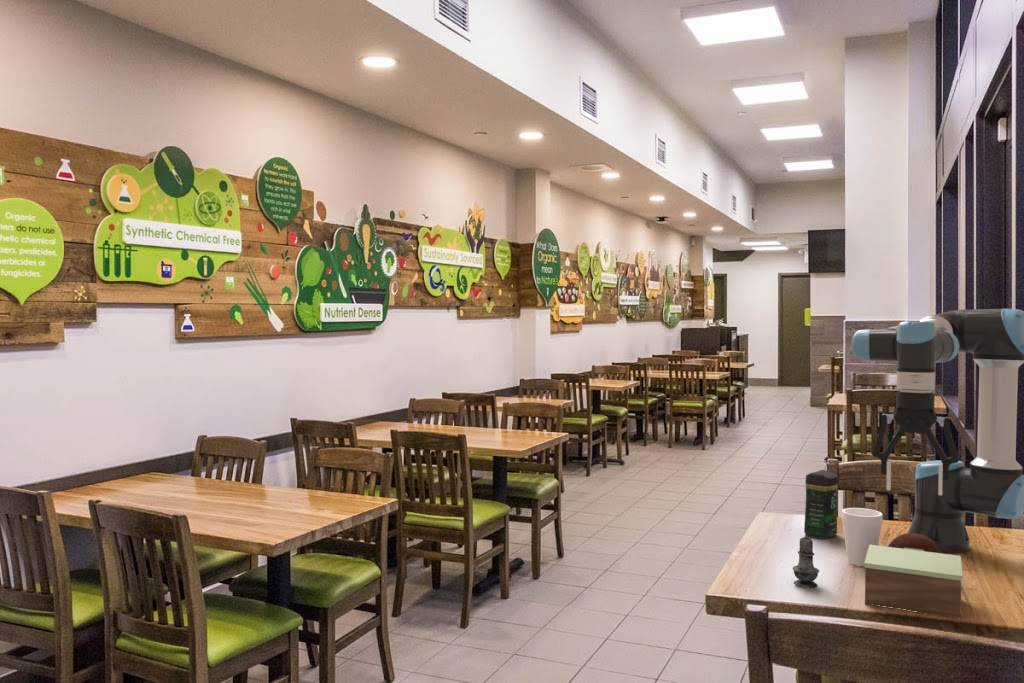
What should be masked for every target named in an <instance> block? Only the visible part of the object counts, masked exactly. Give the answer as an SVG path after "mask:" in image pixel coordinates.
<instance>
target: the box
mask: <svg viewBox="0 0 1024 683" xmlns="http://www.w3.org/2000/svg"><path fill="white" fill-rule="evenodd" d="M864 568H865V567H864ZM864 574H865V575H864V576H865V577H864V587H865V588H864V605H867V604H873V605H880V606H886V607H893V608H900V609H906V610H911V611H917V612H921V613H920V614H924V613H927V614H926V615H930V614H933V615H932V616H936V615H937V616H938V617H942V616H943V617H944V618H949V617H950V618H951V619H955V618H960V619H959V620H961V617H962V616H961V615H962V612H961V609H962V607H961V606H962V603H961V602H962V581H959V580H952V579H945V578H938V577H930V576H923V575H916V574H909V573H901V572H894V571H887V570H880V569H873V568H865V569H864ZM873 605H872V606H873ZM880 606H879V607H880ZM886 607H885V608H886ZM911 611H910V612H911ZM917 612H916V613H917ZM943 617H942V618H943Z"/></svg>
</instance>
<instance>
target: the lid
mask: <svg viewBox="0 0 1024 683" xmlns="http://www.w3.org/2000/svg"><path fill="white" fill-rule="evenodd" d="M962 566H963V565H962V556H961V555H956V554H946V553H933V552H925V551H924V550H921V549H913V548H905V547H904V549H901V548H893V547H888V546H883V545H878V546H877V545H869V548H868V552H867V555H866V559H865V562H864V567H863V568H873V569H880V570H887V571H894V572H901V573H909V574H916V575H923V576H930V577H938V578H945V579H952V580H959V581H961V582H962V581H963V569H962Z"/></svg>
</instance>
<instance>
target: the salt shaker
mask: <svg viewBox="0 0 1024 683" xmlns="http://www.w3.org/2000/svg"><path fill="white" fill-rule="evenodd" d="M808 536H809V535H807V533H806V534H805V533H804V536H803V537H801V538H800V539H799V550H798V551H797V554H798V564H797V565H794V566H792V568H791V569H792V570H793V574H794V575H795V577H796V578H797V580H795V581H793V585H794V584H795V585H794V586H796V587H798V586H799V588H802V587H804V588H803V589H816V588H818V587H817V586H819V585H818V584H817V583H816V582H815V580H816V579H817V578H818V574H819V573H820V569H819V568H817V567H815V566H814V556H815V553H814V550H813V548H814V545H813V539H812V538H810V537H808ZM815 587H816V588H815Z"/></svg>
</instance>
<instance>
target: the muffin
mask: <svg viewBox="0 0 1024 683" xmlns="http://www.w3.org/2000/svg"><path fill="white" fill-rule="evenodd" d="M887 547H893V548H901V549H904V547H905V548H913V549H921V550H924V551H925V552H933V553H941V554H943V552H941V551H940V549H939V547H938V546H937V545H936V543H935V542H934V541H933V540H932V539H930V538H929V537H927V536H925V535H921V534H917V533H908V532H907V533H902V534H901V535H900V534H899V535H898V536H896V537H895V538H893V539H892V541H890V543H889V544H888V545H887Z"/></svg>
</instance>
